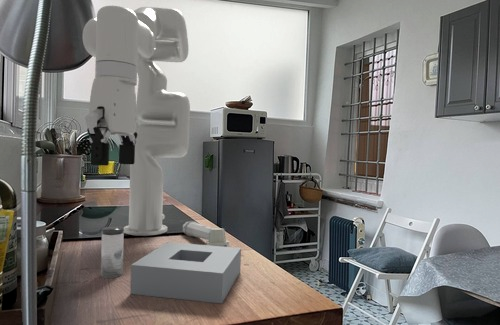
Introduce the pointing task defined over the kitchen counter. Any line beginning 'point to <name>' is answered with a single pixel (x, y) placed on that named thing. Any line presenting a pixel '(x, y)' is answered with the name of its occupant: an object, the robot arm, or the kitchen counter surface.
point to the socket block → (187, 272)
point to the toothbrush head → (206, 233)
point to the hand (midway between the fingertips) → (114, 164)
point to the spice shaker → (112, 252)
